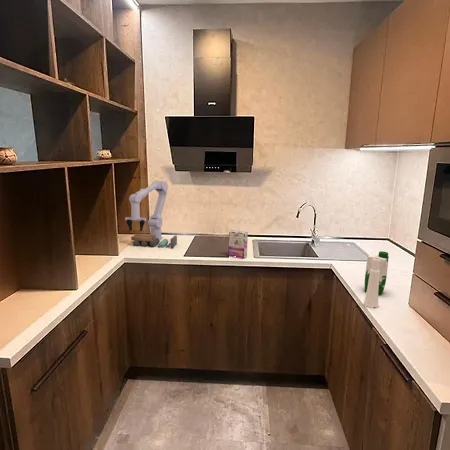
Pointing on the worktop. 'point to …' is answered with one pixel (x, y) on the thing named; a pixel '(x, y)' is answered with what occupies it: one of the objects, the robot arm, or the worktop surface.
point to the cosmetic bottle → (373, 284)
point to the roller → (163, 243)
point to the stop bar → (173, 242)
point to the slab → (143, 237)
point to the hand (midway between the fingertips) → (136, 230)
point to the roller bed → (145, 243)
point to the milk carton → (382, 267)
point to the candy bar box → (238, 243)
